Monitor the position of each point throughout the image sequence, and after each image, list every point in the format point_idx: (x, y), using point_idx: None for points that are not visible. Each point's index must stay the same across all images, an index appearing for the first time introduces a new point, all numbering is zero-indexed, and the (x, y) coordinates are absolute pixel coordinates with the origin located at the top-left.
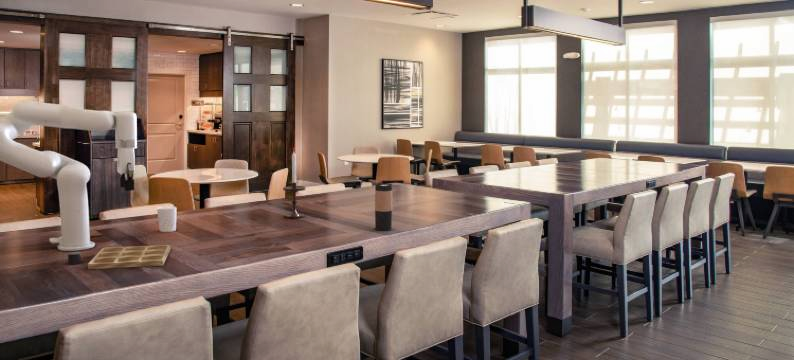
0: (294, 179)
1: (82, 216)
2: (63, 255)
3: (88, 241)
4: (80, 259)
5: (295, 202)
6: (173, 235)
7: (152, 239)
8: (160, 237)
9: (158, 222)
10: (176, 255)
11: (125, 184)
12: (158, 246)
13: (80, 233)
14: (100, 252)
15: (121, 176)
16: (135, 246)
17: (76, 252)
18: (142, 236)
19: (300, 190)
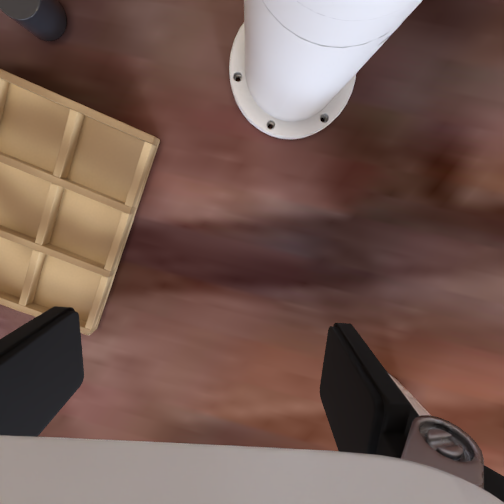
0: None
1: (250, 19)
2: (187, 4)
3: (264, 106)
4: (26, 29)
5: None
6: (293, 387)
7: (272, 322)
8: (287, 349)
9: (403, 390)
10: (12, 321)
11: (2, 344)
12: (93, 301)
13: (245, 53)
14: (81, 112)
15: (408, 432)
16: (119, 239)
17: (22, 2)
18: (337, 308)
19: None
